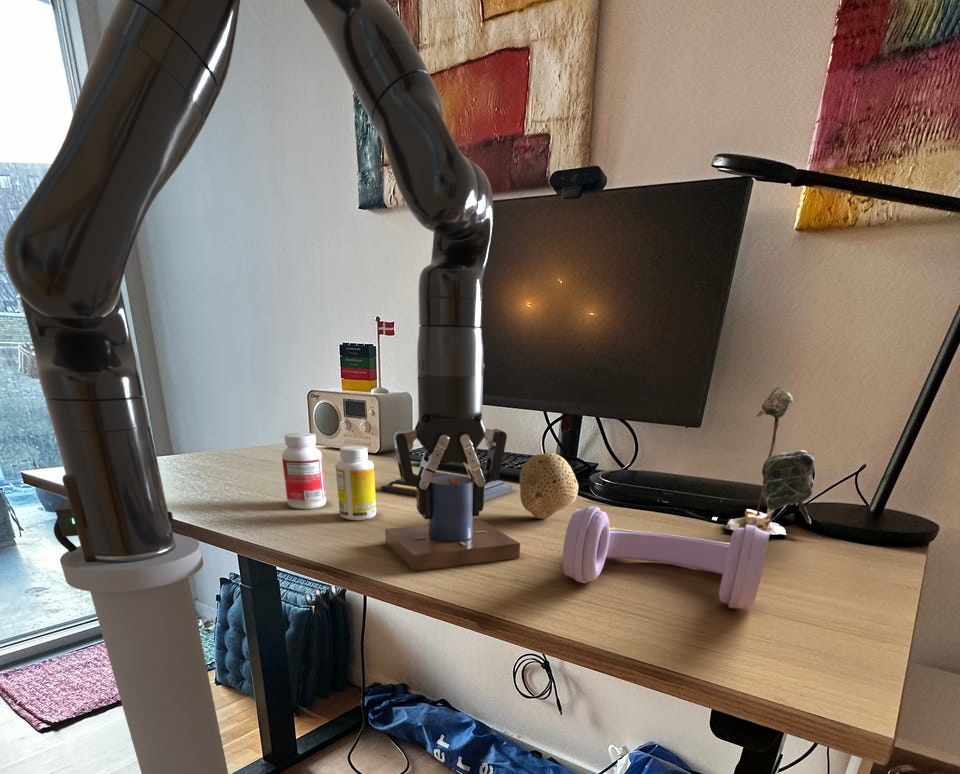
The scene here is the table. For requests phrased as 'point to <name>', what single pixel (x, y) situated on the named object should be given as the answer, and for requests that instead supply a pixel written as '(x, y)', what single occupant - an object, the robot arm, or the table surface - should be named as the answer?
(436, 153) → the robot arm
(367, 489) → the supplement bottle
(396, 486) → the dark blue book
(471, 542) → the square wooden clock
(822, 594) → the table surface
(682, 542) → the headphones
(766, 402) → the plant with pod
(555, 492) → the natural sponge
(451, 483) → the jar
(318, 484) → the pill bottle
